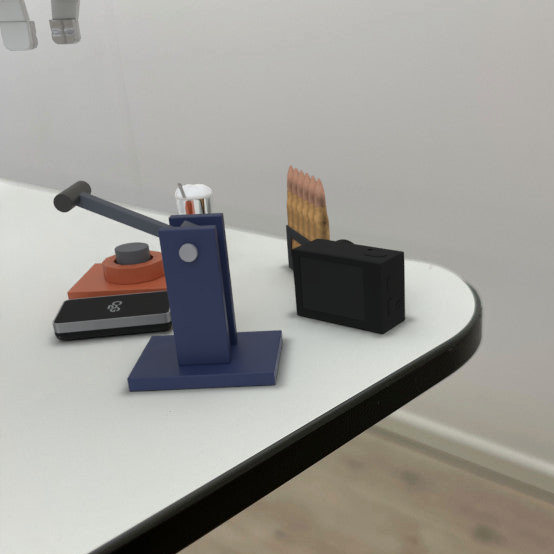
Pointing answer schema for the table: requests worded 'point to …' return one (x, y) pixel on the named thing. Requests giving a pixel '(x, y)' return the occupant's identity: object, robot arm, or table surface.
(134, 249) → the button
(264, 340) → the switch bracket
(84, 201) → the switch lever
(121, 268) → the button block
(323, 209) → the ammunition clip
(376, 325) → the digital camera
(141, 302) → the external hard drive
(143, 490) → the table surface
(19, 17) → the robot arm
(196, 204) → the milkshake
